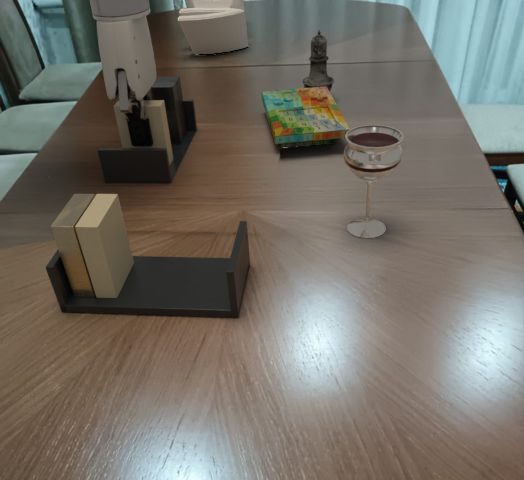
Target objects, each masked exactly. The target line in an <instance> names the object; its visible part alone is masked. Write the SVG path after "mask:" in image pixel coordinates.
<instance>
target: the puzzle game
mask: <svg viewBox="0 0 524 480" xmlns="http://www.w3.org/2000/svg"><path fill="white" fill-rule="evenodd" d="M260 95H261V102H262V105H263V109H264V112H265V116H266V118H267V122H268V126H269V128H270V129H269V130H270V131H271V135H272V137H273V142H274V144H275V145H277V146H280V149H282V148H283V147H294V148H299V147H298V146H305V147H311V146H310V145H316V146H322V145H321V144H327V145H335V144H336V143H338V142H339V141H340V140H341V139H346V137H345V135H346V132H348V131H349V130H350V129H351V127H350V126H349V124H348V123H347V120H346V119H345V117H344V116H343V114H342V111H341V110H340V108H339V106H338V104H337V103H336V100H335V99H334V97H333V95H332V93H331V91H330V92H329V90H328V88H327V86H324V87H313V88H304V87H301V88H291V89H280V90H267V91H261V92H260ZM296 146H297V147H296ZM283 149H284V148H283Z"/></svg>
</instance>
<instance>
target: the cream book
mask: <svg viewBox="0 0 524 480" xmlns="http://www.w3.org/2000/svg"><path fill="white" fill-rule="evenodd" d="M132 104H133V105H136V106H137V107H138V103H132ZM144 106H145V113H146V118H149V122H150V128H151V133H152V139H153V145H152V146H132V144H131V139H130V134H129V129H128V124H127V121H126V119H125V113H122V112H121V111H120V105H119V100H117V101H116V102H115V104H114V105H113V111H114V116H115V120H116V125H117V128H118V134H119V139H120V143H121V148H167V152H168V158H169V164H170V165H171V163H172V161H173V153H172V147H171V141H170V135H169V128H168V122H167V116H166V109H165V103H164V100H144ZM138 108H139V107H138Z"/></svg>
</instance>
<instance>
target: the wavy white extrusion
mask: <svg viewBox="0 0 524 480" xmlns="http://www.w3.org/2000/svg"><path fill="white" fill-rule="evenodd" d="M184 2H185V6H186V7H185V8H181V9H179V11H178V13H179V16H178V17H177V22H178V25H179V26H180V29H181V30H182V32H183V35H184V37H185V39H186V41H187V43H188V45H189V48H190V50H191V53H193V55H194V54H205V53H214V52H222V51H228V50H233V49H237V48H242V47H246V46H248V47H249V38H248V29H247V26H248V25H247V18H246V10H245V0H184Z"/></svg>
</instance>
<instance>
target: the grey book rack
mask: <svg viewBox="0 0 524 480" xmlns="http://www.w3.org/2000/svg"><path fill="white" fill-rule="evenodd" d="M151 88H152V94H153V99H154V100H164V103H165V109H166V116H167V122H168V128H169V135H170V141H171V147H172V153H173V161H172V163H171V165H170V164H169V158H168V152H167V148H122V147H98V148H97V150H96V151H97V155H98V160H99V164H100V168H101V172H102V175H103V180H104V182H105V184H138V185H139V184H143V185H145V184H147V185H148V184H149V185H150V184H151V185H153V184H154V185H155V184H157V185H161V184H162V185H171V184H172V183H173V181H174V179H175V177H176V174H177V173H178V170H179V168H180V166H181V164H182V162H183V160H184V158H185V156H186V154H187V152H188V150H189V148H190V146H191V143H192V142H193V139H194V137H195V135H196V133H197V132H198V124H197V117H196V116H197V115H196V108H195V100H194V99H193V98H191V99H190V98H189V99H188V98H184V97H183V91H182V83H181V77H180V75H179V76H178V75H176V76H175V75H173V76H170V75H169V76H168V75H167V76H165V75H164V76H156V80H155V82H154V84H153V85H152V87H151ZM130 96H132V93H130Z"/></svg>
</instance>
